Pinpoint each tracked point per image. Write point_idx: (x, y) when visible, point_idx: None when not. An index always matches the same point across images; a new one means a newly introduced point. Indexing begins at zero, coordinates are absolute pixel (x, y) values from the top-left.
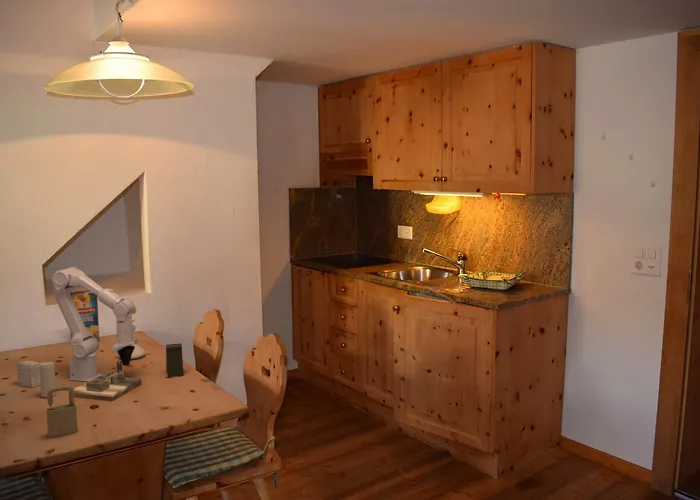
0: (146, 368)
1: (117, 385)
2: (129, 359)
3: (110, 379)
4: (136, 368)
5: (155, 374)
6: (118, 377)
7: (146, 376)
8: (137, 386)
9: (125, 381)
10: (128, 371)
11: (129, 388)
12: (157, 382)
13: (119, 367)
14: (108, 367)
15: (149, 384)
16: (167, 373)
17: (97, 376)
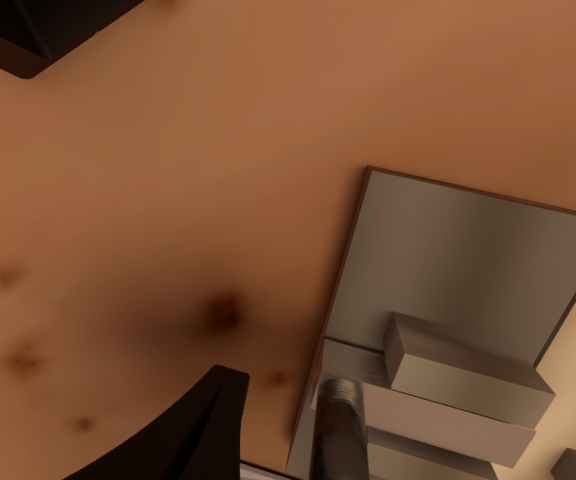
0: (33, 250)
1: (568, 323)
2: (202, 410)
3: None
4: (52, 311)
5: (126, 137)
6: (504, 366)
7: (180, 193)
8: (426, 178)
9: (454, 288)
10: (113, 341)
11: (563, 210)
12: (316, 30)
13: (365, 435)
14: (82, 449)
15: (371, 89)
16: (96, 22)
17: (245, 474)
